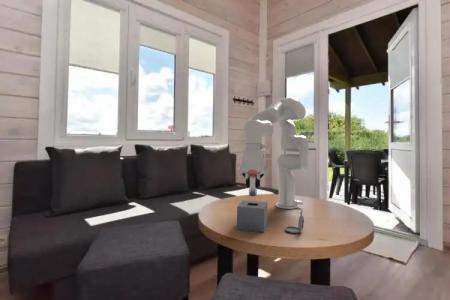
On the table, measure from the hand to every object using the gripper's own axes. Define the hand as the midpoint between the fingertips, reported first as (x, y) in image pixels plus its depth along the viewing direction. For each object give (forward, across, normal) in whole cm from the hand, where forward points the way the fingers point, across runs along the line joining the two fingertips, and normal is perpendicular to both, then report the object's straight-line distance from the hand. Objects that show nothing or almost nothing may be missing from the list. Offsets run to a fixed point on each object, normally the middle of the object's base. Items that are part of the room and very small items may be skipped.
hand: (252, 187), depth 114 cm
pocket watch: (+18, -19, +1) cm, 27 cm away
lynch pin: (+4, 0, 0) cm, 4 cm away
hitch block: (+18, 0, 0) cm, 18 cm away
